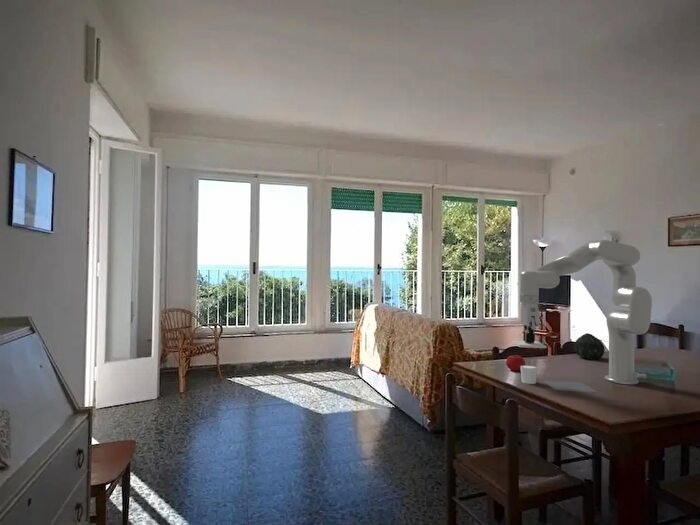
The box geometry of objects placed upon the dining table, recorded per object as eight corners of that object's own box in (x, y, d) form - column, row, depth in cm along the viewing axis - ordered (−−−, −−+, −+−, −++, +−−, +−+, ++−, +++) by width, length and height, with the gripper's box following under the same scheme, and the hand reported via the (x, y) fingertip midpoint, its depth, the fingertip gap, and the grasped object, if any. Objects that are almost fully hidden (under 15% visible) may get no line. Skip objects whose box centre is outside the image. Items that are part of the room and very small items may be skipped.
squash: (597, 346, 242) (581, 326, 242) (615, 352, 227) (598, 331, 227) (579, 362, 242) (563, 342, 241) (595, 369, 227) (578, 348, 226)
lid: (537, 343, 185) (537, 329, 185) (546, 348, 174) (546, 332, 174) (511, 342, 186) (512, 328, 186) (519, 347, 175) (519, 331, 175)
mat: (581, 383, 180) (581, 382, 180) (597, 392, 166) (597, 391, 166) (543, 381, 182) (543, 380, 182) (555, 391, 168) (555, 390, 168)
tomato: (515, 367, 208) (515, 351, 208) (529, 371, 200) (529, 355, 200) (501, 369, 204) (502, 352, 205) (516, 373, 196) (516, 356, 197)
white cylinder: (539, 385, 175) (539, 369, 176) (521, 384, 177) (522, 368, 177) (535, 381, 182) (535, 365, 182) (518, 380, 184) (518, 364, 184)
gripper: (545, 301, 172) (544, 345, 171) (531, 298, 188) (531, 339, 188) (526, 300, 172) (525, 344, 172) (514, 298, 189) (514, 338, 188)
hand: (528, 341), depth 180 cm, fingers closed on lid, 2 cm apart
